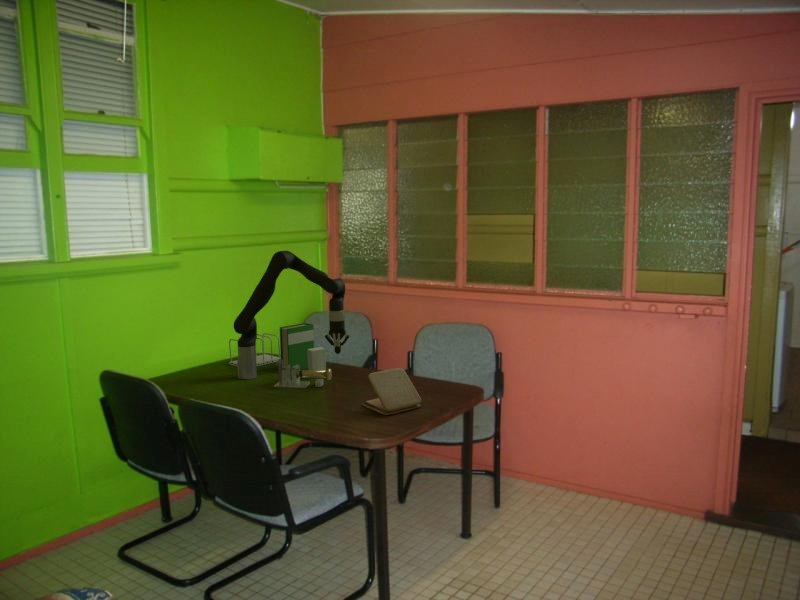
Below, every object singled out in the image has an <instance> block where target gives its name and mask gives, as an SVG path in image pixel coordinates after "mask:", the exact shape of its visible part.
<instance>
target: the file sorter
mask: <svg viewBox="0 0 800 600" xmlns="http://www.w3.org/2000/svg"><path fill="white" fill-rule="evenodd" d="M267 335H268V336H267ZM258 336H259V337H258ZM270 336H272V337H273V336H274V337H276V338H277V341H278V343H277V344H278V356H274V355H273V340H272V337H270ZM260 337H262V338H260ZM265 338H268V339H269V340H270V354H266V352H265ZM239 339H240V337H239V338H238V339H235V338H230V339H229V340H228V344H229V345H228V347H229V358H230V360H229V361H228V365H230V366H233V367H235V368H236V367H237V361H238V359H237V360H232V349H231V341H234V342H238V340H239ZM256 340H260V342H261V345H262V346H261V347H262V350H261V351H262V354H259V355H258V354H257V352H256V364H257V367H261V366H264V365H269V364H275V362H276V361H278V360H279V359H281V348H280V336H278V335H277V334H273V333H268V332H267V333H266V332H264V333H262V334H258V333H257V339H256ZM272 361H273V362H272ZM267 362H268V363H267ZM231 363H233V364H231ZM263 363H264V364H263ZM235 364H236V365H235ZM258 364H259V365H258Z"/></svg>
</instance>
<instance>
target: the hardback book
mask: <svg viewBox="0 0 800 600" xmlns="http://www.w3.org/2000/svg"><path fill="white" fill-rule="evenodd" d="M314 332H315V331H314V323H308V322H303V323H297V324H292V325H285V326H281V327H280V326H279V344H280V358H281V359H283V367H284V366H285V365H286V364H290V373H292V371H291V368H292V367H293V366H295V365H300V370H306V369H308V355H307V349H311V348H315V336H314Z"/></svg>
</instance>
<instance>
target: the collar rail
mask: <svg viewBox="0 0 800 600" xmlns="http://www.w3.org/2000/svg"><path fill="white" fill-rule="evenodd" d="M274 364H275V366H277V369H278V374H277V375H278V382H277V383H275V384H274V385H273V386H274V388H289V389H291V388H293V389H296V388H297V389H299V388H301V389H305V388H306V387H308V386H309V385H310V384H311V381H307V380H303V381H302V380H301V377H296V370H300V365H295V366H293V367H292V368H291V371H292V372H290V364H286V365H285V366H284V367H283V359H279V360H278V361H276V362H274ZM323 386H324V378H317V379H316V380H315V381H314V387H315V388H321V387H323ZM306 389H307V388H306Z"/></svg>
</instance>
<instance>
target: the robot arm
mask: <svg viewBox="0 0 800 600" xmlns="http://www.w3.org/2000/svg"><path fill="white" fill-rule="evenodd" d="M287 269H290V270H294V271H296V272H298V273H300V274H301V275H302V276H304V278H305V279H307V280H308V281H310V282H311V283H312V284H315V285H317V286H319V287H320V288H321V289H322V290H324V291H325V292H326V293H328V294H331V298H330V299H329V303H328V307H329V312H328V321H329V324H328V325H329V331H328V333H327V334H326V335H324V338H325V340H327V342H328V343H329V344H330V346H333V347H334V353H335V354H336V355H340V353H341V352H342V350H341V349H342V346H344V345H345V344H346V342H347V341H348V340H349V339H350V337H351V335H350V334H348V333H347V331H346V327H345V319H346V318H345V312H344V311H345V310H344V308H345V307H344V306H345V305H344V300H345V295H346V283H345V281H344V280H343V279H342V278H338V277H337V278H330V277H329V275H328V273H326V272H324V271H322V270H320V269H319V268H316V267H314V266H313V265H311V264H309V263H307V262H306V261H304V260H303V259H302V258H300V257H299V256H297V255H296V254H295V253H293V252H291V251H289V250H279V251H276V252H275V253H274V254H273V255H272V257H271V259H270V261H269V263H268V266H267V268H266V270H265V271H264V273H263V275H262V277H261V279H260V280H259V282H258V283H257V285H256V286H255V288H254V290H253V292H252V293H251V295H250V297H249V299H248V300H247V303H246V304H245V306H244V307H243V309H242V310H241V311H240V312H239V315H237V316H236V318H235V320H233V321H234V322H233V330H234V332H235V333H236V334H239V335H240V337H239V338H240V339H239V338H238V339H239V340H238V339H237V340H238V341H237V356H238V357H237V360H238V361H237V379H240V380H253V379H256V378H257V377H258V371H257V370H258V368H257V367H258V366H257V364H256V353H257V340H258V339H257V338H258V335H257V334H258V329H257V328H258V326H257V324H258V323H257V320H256V318H255V317H256V315H257V314H258V313H259V312H260V311H261V310H262V309H263V308H265V307H266V305H267V304H268V303H269V301H270V300H271V299H272V297H273V296H274V294H275V291H276V284H277V283H276V282H277V280H278V278H279V276H280V275H281V273H282V272H283V271H284V270H287ZM343 338H344V339H343ZM332 339H333V340H332ZM342 339H343V340H342Z"/></svg>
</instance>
